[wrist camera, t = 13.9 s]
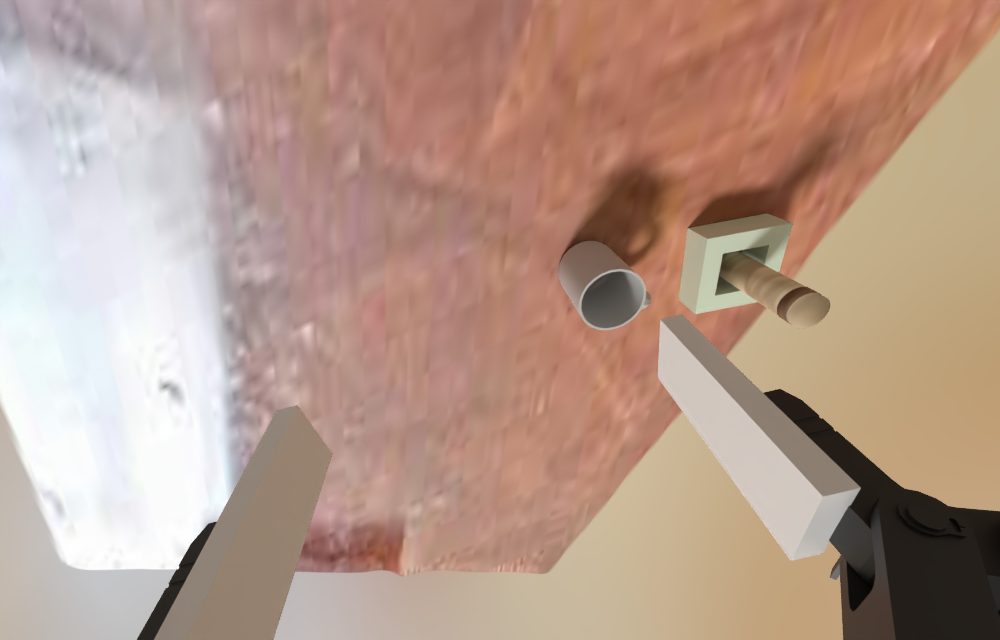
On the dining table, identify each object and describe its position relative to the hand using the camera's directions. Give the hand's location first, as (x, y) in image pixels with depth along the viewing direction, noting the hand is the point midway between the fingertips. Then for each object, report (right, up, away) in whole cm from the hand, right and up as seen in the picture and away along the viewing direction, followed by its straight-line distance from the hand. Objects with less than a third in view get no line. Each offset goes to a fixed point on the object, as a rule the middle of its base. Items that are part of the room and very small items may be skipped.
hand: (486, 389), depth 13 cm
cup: (+12, +9, +33) cm, 36 cm away
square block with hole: (+29, +10, +34) cm, 46 cm away
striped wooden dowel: (+29, +10, +34) cm, 46 cm away
